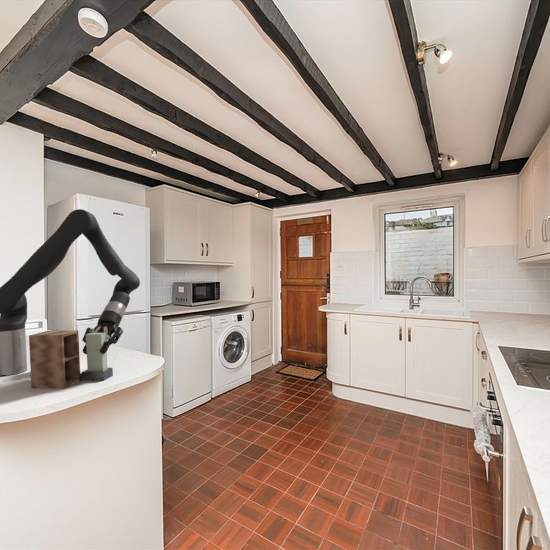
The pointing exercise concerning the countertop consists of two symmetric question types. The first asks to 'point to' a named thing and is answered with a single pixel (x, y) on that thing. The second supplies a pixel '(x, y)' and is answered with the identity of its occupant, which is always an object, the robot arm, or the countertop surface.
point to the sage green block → (96, 352)
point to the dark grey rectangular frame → (96, 375)
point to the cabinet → (54, 359)
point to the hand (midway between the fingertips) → (93, 353)
